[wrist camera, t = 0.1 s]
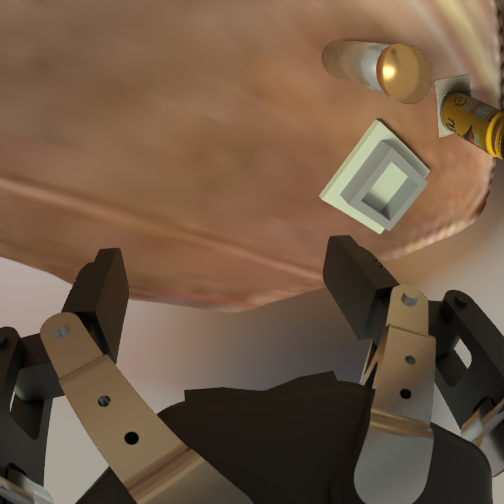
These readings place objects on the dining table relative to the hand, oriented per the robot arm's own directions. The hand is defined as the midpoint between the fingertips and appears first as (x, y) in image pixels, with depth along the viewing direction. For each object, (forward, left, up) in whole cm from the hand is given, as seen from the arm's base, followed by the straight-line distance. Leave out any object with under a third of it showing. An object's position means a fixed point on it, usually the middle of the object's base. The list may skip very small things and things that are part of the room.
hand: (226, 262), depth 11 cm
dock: (-4, +23, -22) cm, 32 cm away
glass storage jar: (-13, +9, -22) cm, 27 cm away
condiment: (-21, +26, -23) cm, 40 cm away
